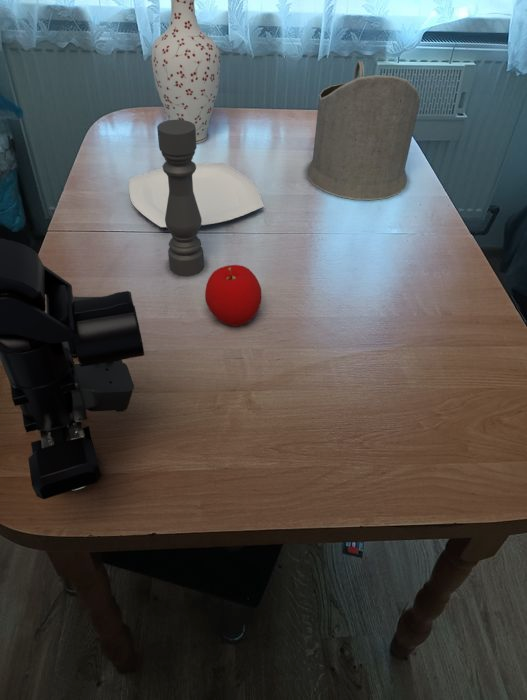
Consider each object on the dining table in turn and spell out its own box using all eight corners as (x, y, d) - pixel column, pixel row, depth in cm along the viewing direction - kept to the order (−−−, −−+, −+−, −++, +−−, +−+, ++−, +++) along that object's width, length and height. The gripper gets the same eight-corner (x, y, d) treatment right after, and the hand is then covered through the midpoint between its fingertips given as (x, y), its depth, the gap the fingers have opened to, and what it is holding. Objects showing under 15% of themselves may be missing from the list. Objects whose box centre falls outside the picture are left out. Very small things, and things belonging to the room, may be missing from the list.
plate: (228, 164, 129) (228, 156, 127) (279, 218, 111) (280, 209, 110) (116, 183, 120) (115, 174, 118) (152, 244, 102) (151, 235, 101)
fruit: (198, 305, 89) (195, 254, 83) (248, 293, 92) (249, 243, 85) (217, 340, 83) (216, 288, 77) (270, 326, 86) (273, 275, 79)
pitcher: (310, 198, 118) (323, 75, 101) (302, 139, 141) (311, 31, 124) (415, 201, 118) (446, 80, 101) (390, 143, 141) (412, 35, 124)
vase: (221, 126, 146) (219, -31, 122) (221, 151, 134) (218, -18, 110) (161, 124, 145) (146, -34, 121) (155, 150, 133) (138, -20, 109)
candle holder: (196, 253, 101) (188, 116, 83) (209, 271, 97) (203, 131, 79) (164, 261, 98) (149, 122, 81) (176, 279, 94) (163, 137, 77)
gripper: (142, 412, 49) (159, 503, 60) (102, 294, 61) (122, 387, 72) (12, 449, 46) (55, 538, 56) (-2, 317, 58) (35, 410, 69)
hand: (71, 460), depth 64 cm, fingers closed
